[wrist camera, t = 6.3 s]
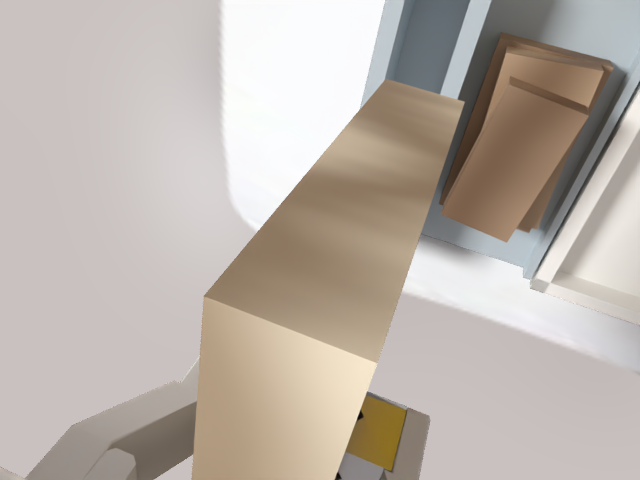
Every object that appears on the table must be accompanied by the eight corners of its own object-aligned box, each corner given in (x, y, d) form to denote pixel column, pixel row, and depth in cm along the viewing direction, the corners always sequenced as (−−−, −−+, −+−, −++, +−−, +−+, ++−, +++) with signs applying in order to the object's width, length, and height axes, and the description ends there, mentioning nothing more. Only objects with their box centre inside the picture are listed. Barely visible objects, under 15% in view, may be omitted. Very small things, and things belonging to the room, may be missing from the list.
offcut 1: (609, 60, 24) (613, 67, 23) (528, 221, 29) (528, 233, 28) (501, 32, 24) (499, 37, 23) (441, 193, 30) (438, 204, 29)
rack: (672, -7, 22) (700, 11, 19) (530, 260, 31) (530, 307, 28) (405, -70, 24) (385, -65, 21) (342, 198, 33) (320, 234, 30)
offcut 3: (600, 63, 23) (603, 71, 22) (536, 217, 27) (537, 229, 26) (507, 45, 24) (506, 52, 22) (460, 197, 28) (457, 209, 27)
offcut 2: (586, 105, 23) (589, 115, 22) (507, 229, 27) (506, 242, 26) (509, 75, 23) (508, 84, 22) (444, 202, 27) (440, 214, 26)
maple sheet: (464, 101, 13) (377, 363, 5) (362, 388, 19) (259, 683, 12) (385, 78, 13) (203, 295, 6) (310, 368, 19) (180, 643, 12)
